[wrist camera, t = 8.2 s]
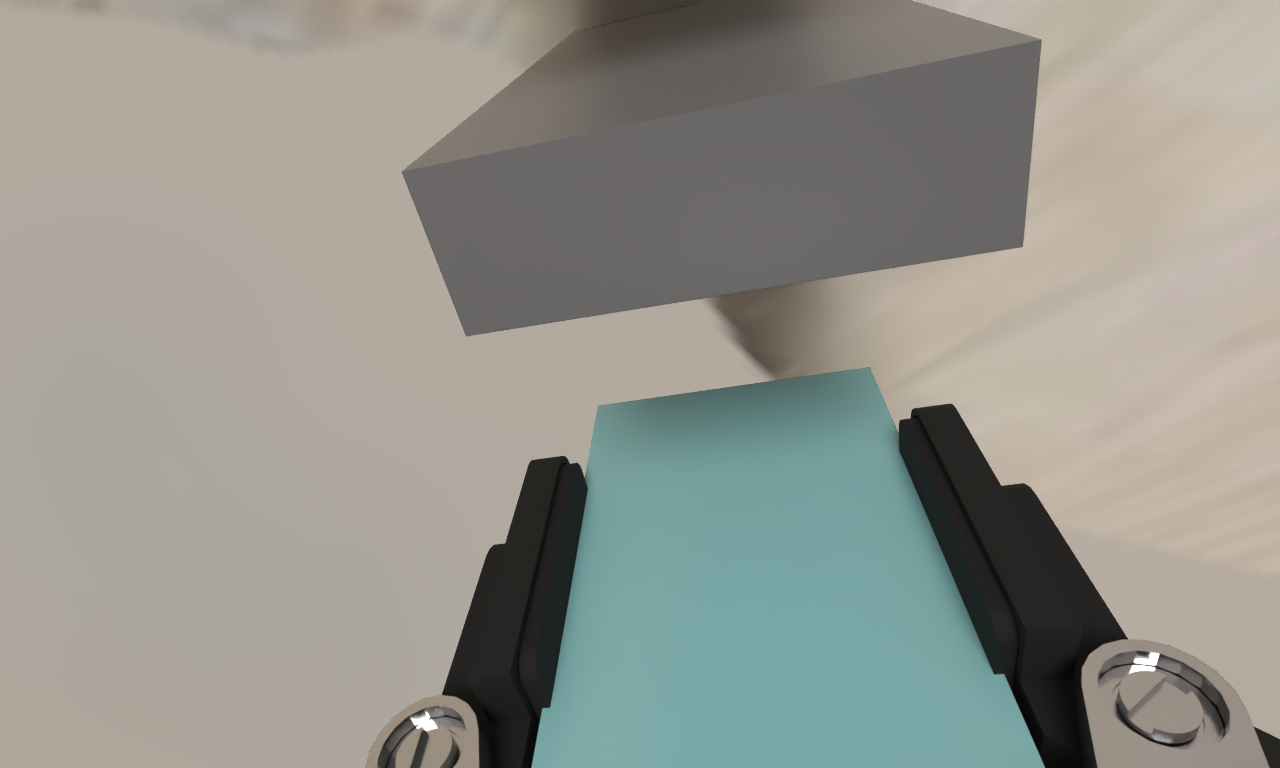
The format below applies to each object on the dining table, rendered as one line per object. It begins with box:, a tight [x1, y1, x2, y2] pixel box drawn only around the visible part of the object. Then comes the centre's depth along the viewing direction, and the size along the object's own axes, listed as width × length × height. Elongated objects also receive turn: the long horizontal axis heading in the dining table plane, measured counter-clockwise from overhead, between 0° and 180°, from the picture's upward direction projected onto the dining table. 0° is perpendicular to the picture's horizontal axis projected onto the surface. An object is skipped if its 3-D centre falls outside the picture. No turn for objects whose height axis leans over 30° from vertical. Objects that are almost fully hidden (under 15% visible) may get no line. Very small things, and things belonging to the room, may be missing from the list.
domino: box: [402, 0, 1041, 336], centre depth 10 cm, size 2×5×10 cm, turn 102°
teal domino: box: [531, 367, 1045, 768], centre depth 9 cm, size 2×5×10 cm, turn 102°
